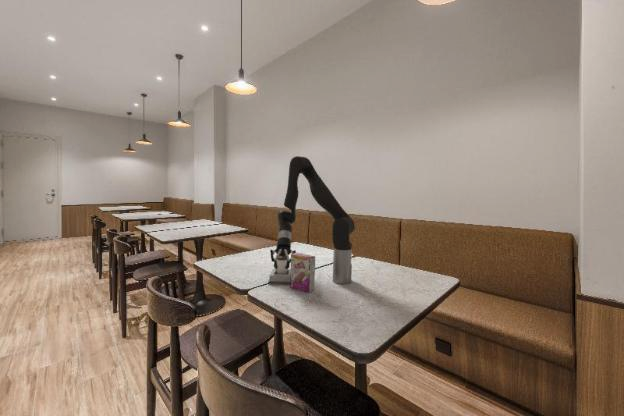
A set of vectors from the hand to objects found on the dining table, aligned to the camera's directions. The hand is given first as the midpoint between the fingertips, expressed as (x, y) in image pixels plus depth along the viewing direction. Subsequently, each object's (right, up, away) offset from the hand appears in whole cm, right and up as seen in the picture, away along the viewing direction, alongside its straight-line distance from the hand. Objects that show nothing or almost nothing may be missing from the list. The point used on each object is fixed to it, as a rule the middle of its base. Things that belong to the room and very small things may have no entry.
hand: (281, 268), depth 137 cm
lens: (0, -4, +2) cm, 5 cm away
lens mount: (0, -7, +2) cm, 7 cm away
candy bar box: (+11, -8, -9) cm, 16 cm away
